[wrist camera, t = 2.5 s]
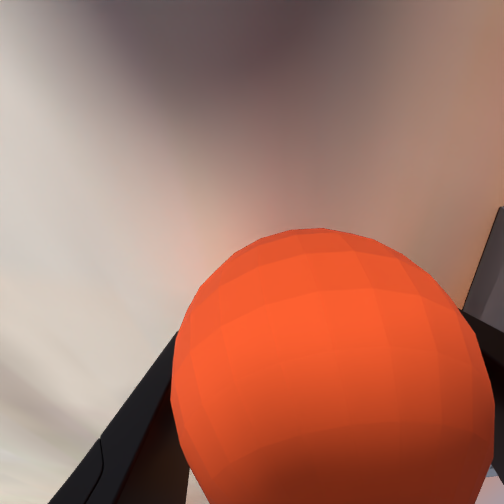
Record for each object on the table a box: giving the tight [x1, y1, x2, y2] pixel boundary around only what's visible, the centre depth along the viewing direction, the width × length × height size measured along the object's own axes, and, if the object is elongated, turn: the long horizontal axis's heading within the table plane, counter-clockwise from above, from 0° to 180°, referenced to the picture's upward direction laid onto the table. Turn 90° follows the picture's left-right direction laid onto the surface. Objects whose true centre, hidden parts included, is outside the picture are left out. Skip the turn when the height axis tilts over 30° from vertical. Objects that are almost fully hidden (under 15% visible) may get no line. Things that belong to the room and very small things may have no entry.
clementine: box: [170, 228, 495, 504], centre depth 7 cm, size 8×7×7 cm
